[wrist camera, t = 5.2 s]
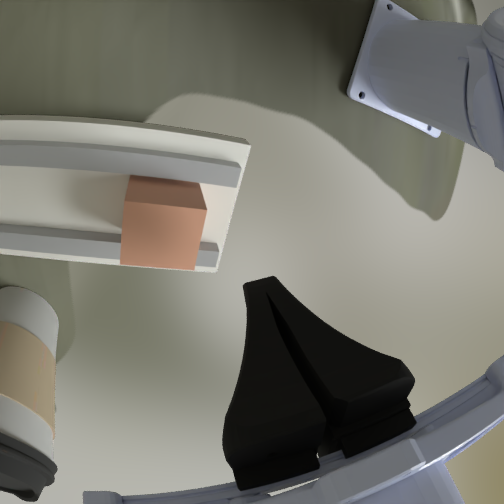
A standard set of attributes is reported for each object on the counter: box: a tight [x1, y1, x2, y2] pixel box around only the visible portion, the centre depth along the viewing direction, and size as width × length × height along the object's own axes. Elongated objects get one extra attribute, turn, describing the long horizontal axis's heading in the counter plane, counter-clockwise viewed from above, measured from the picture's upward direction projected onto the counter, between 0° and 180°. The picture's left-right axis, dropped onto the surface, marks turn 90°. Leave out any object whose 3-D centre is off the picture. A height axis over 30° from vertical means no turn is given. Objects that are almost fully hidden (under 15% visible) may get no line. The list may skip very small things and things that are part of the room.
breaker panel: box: [0, 115, 251, 273], centre depth 17 cm, size 16×9×2 cm, turn 75°
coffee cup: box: [0, 286, 59, 502], centre depth 16 cm, size 9×9×15 cm
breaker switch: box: [120, 175, 207, 270], centre depth 17 cm, size 4×4×4 cm
